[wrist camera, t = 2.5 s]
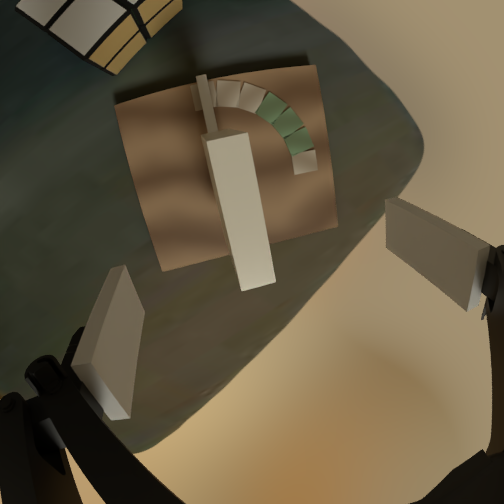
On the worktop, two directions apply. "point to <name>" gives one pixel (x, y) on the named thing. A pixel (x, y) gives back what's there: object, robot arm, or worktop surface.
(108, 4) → the puzzle cube
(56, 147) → the worktop surface
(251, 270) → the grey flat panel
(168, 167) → the brown square board
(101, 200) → the worktop surface
